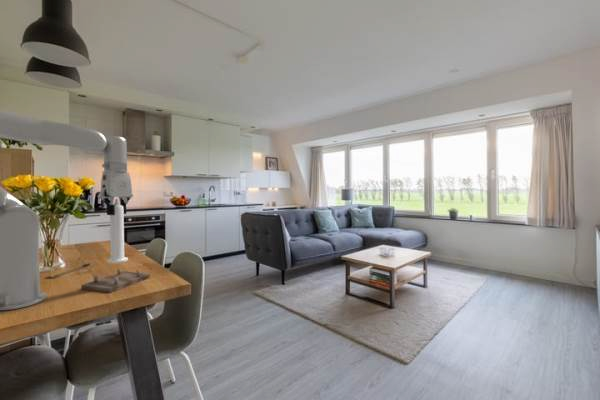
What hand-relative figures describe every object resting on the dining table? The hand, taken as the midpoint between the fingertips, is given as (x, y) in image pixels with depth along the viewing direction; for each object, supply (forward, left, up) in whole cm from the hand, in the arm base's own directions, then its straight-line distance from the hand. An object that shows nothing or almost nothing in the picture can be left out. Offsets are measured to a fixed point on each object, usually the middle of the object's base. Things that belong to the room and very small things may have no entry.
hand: (116, 213), depth 109 cm
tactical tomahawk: (+7, +33, -28) cm, 44 cm away
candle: (0, 0, -19) cm, 19 cm away
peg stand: (0, 0, -28) cm, 28 cm away
